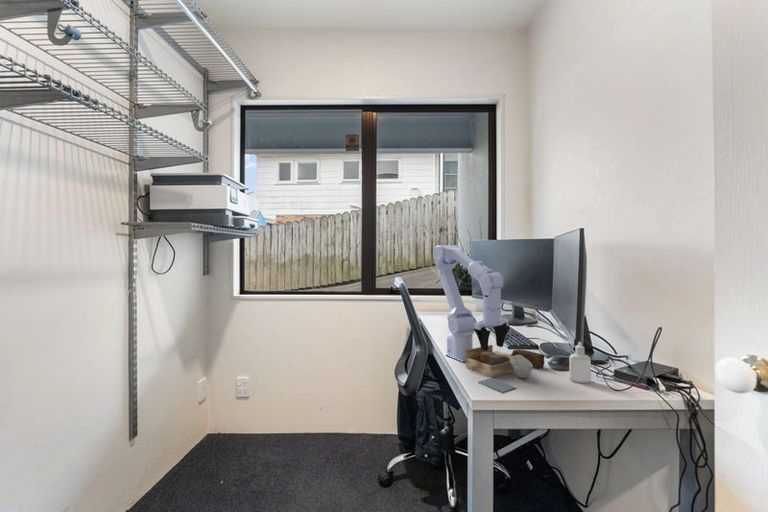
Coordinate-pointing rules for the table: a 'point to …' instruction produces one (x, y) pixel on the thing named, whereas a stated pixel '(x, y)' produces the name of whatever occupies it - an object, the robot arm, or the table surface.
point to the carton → (485, 369)
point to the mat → (497, 385)
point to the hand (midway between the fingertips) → (492, 348)
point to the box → (491, 358)
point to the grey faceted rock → (521, 366)
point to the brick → (531, 357)
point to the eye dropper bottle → (579, 366)
